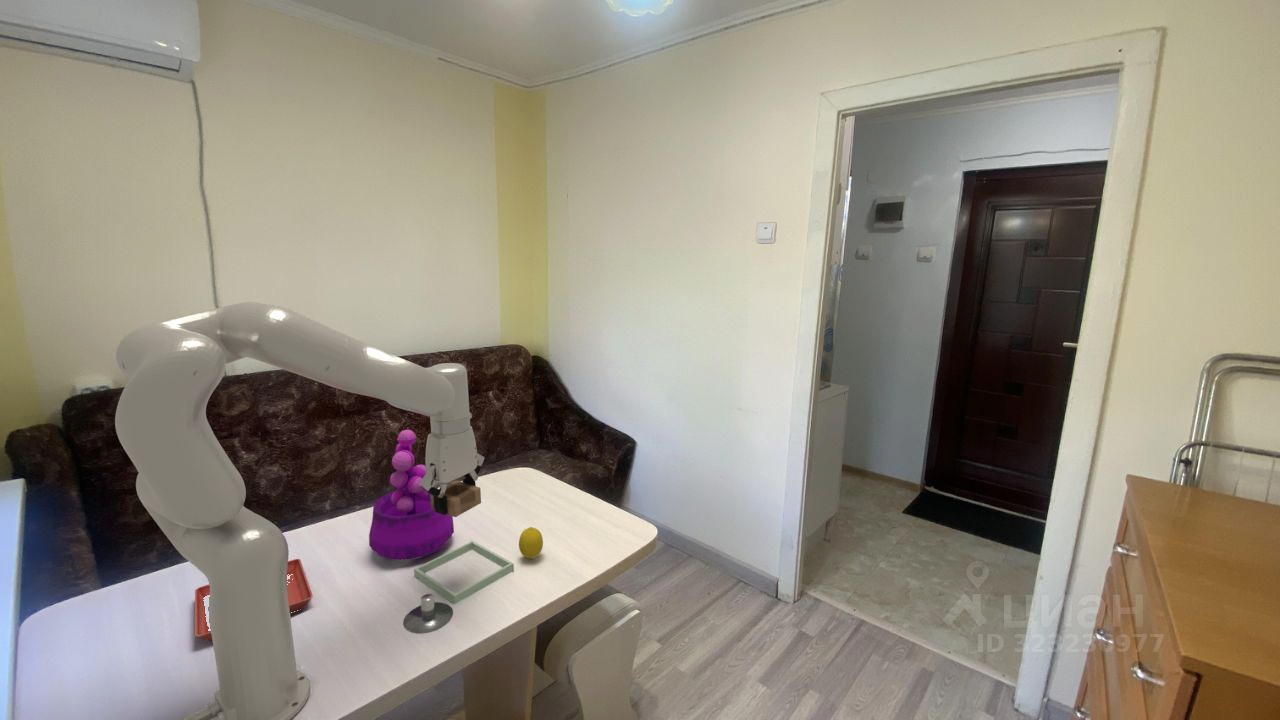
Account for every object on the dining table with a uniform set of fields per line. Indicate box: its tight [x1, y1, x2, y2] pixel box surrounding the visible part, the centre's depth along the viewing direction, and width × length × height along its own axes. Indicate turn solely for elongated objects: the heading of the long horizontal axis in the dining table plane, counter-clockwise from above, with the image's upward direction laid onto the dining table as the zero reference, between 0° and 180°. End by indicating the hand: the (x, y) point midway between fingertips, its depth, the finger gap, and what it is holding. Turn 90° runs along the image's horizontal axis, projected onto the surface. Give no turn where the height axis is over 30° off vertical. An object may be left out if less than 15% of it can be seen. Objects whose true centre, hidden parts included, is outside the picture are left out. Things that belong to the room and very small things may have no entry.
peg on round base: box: [402, 593, 454, 635], centre depth 102 cm, size 9×9×5 cm
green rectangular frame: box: [413, 540, 515, 605], centre depth 116 cm, size 15×15×2 cm
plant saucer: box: [194, 558, 314, 641], centre depth 105 cm, size 18×18×3 cm
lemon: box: [518, 526, 544, 560], centre depth 123 cm, size 6×6×8 cm
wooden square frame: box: [430, 480, 482, 518], centre depth 110 cm, size 7×7×4 cm
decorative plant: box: [368, 429, 455, 561], centre depth 124 cm, size 19×18×30 cm
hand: (456, 504), depth 110 cm, fingers closed on wooden square frame, 7 cm apart
